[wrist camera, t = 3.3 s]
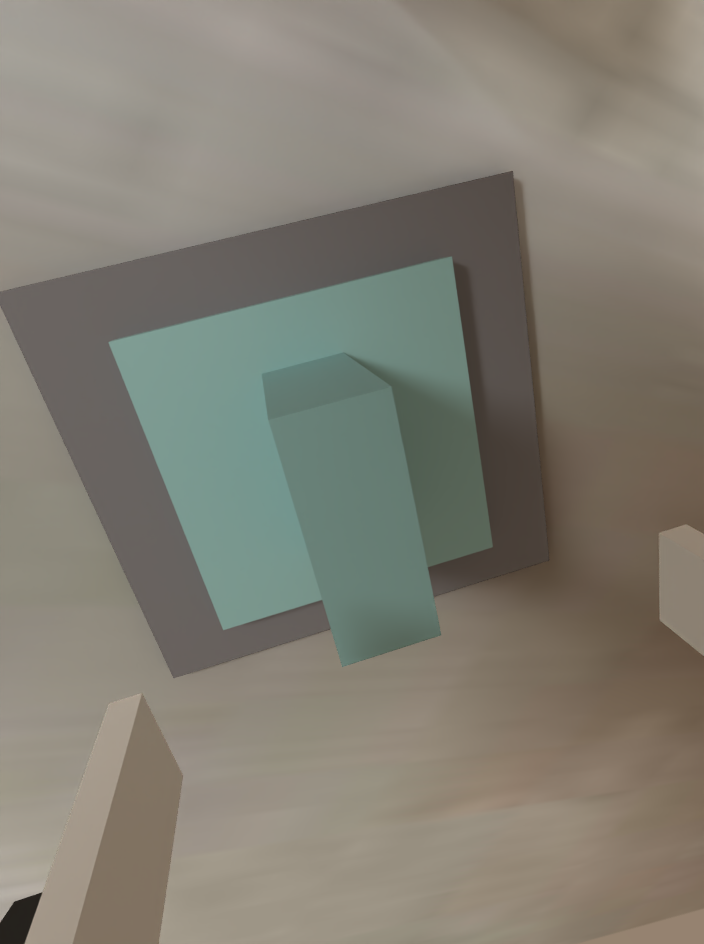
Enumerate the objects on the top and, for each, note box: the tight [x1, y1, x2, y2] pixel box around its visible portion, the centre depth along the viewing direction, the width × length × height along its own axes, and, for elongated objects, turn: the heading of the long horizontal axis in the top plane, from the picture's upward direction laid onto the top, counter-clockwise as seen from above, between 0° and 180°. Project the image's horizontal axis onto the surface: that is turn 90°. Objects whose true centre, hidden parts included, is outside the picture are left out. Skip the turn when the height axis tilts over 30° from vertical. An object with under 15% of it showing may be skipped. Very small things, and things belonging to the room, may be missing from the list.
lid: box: [108, 257, 493, 667], centre depth 23 cm, size 16×16×10 cm
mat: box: [0, 171, 549, 678], centre depth 28 cm, size 24×22×1 cm
